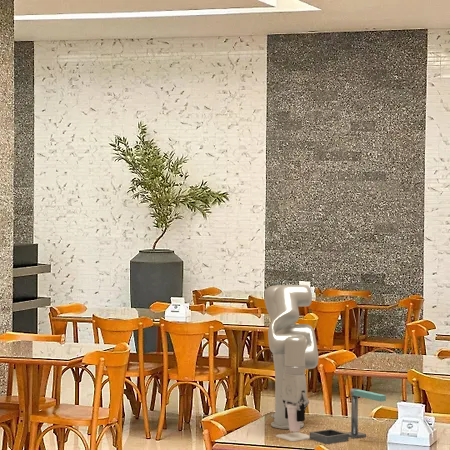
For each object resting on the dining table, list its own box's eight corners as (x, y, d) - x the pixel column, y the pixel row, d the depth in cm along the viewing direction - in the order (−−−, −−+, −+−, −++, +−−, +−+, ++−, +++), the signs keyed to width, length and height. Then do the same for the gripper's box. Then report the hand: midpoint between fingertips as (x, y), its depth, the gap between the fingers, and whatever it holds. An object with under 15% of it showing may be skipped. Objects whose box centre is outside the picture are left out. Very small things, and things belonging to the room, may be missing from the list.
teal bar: (348, 394, 371) (348, 389, 371) (355, 393, 372) (355, 388, 372) (380, 401, 356) (380, 396, 356) (386, 400, 357) (386, 395, 357)
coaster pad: (275, 436, 369) (275, 435, 369) (297, 433, 375) (297, 432, 375) (291, 441, 361) (291, 439, 361) (313, 438, 366) (313, 436, 366)
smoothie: (284, 429, 371) (284, 391, 371) (301, 428, 371) (302, 390, 371) (287, 432, 364) (287, 393, 364) (304, 432, 365) (304, 393, 365)
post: (342, 435, 371) (343, 395, 371) (355, 433, 374) (355, 393, 374) (353, 438, 366) (353, 397, 366) (366, 436, 369) (366, 396, 369)
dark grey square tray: (309, 439, 365) (309, 432, 365) (331, 435, 371) (331, 429, 371) (326, 444, 357) (326, 437, 357) (348, 440, 362) (348, 433, 362)
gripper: (272, 368, 373) (272, 417, 373) (301, 374, 358) (300, 424, 358) (289, 367, 377) (288, 415, 377) (317, 372, 363) (317, 422, 362)
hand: (294, 419), depth 368 cm, fingers closed on smoothie, 6 cm apart
